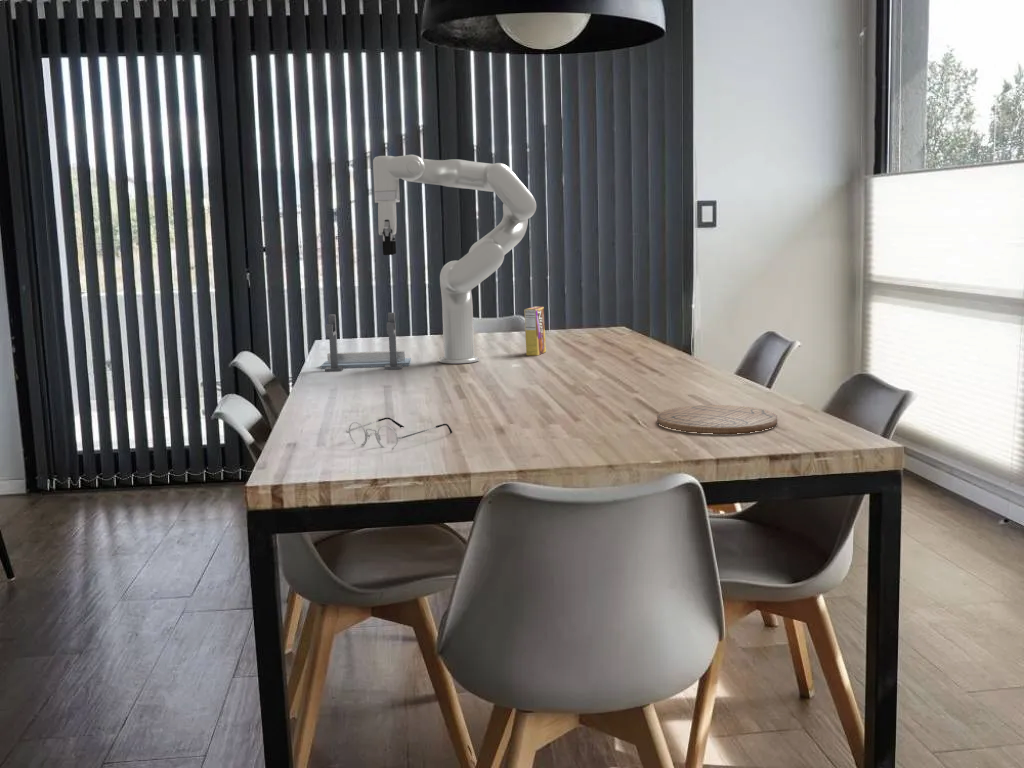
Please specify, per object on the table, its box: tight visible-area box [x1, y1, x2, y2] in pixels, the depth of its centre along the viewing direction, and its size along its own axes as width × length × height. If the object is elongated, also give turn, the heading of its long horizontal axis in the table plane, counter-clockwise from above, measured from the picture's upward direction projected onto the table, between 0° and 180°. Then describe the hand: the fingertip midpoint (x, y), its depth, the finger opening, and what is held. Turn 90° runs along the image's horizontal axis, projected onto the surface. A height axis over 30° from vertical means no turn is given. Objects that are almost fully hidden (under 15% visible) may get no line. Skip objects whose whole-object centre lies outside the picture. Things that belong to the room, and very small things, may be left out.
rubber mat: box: [320, 357, 412, 370], centre depth 321 cm, size 11×27×1 cm, turn 92°
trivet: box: [656, 404, 778, 434], centre depth 217 cm, size 25×25×2 cm
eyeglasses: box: [345, 417, 453, 449], centre depth 210 cm, size 16×19×5 cm
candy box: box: [523, 306, 547, 357], centre depth 334 cm, size 9×4×15 cm, turn 160°
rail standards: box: [324, 312, 403, 373], centre depth 309 cm, size 10×23×17 cm, turn 92°
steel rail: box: [326, 350, 406, 364], centre depth 320 cm, size 2×24×3 cm, turn 92°
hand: (389, 254), depth 313 cm, fingers open, 9 cm apart
